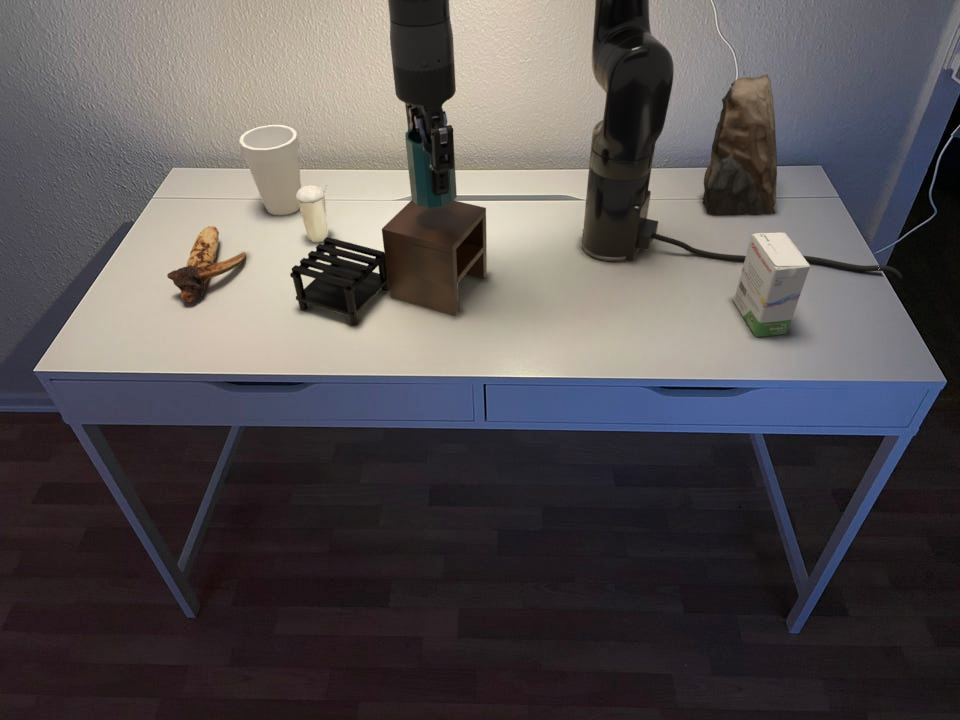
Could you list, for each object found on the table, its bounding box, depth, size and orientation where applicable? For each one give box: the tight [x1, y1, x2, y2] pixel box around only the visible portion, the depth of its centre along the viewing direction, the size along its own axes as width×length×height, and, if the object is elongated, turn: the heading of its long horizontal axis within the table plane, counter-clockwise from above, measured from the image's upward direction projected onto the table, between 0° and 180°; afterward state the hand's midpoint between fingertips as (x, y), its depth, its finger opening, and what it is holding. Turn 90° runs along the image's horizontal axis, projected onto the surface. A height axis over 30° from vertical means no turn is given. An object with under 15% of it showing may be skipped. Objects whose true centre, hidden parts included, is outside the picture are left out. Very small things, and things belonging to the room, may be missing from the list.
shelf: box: [381, 199, 488, 317], centre depth 106 cm, size 11×11×12 cm
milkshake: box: [296, 184, 329, 244], centre depth 117 cm, size 5×5×10 cm
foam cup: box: [238, 124, 302, 216], centre depth 124 cm, size 10×9×13 cm
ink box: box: [732, 231, 811, 338], centre depth 99 cm, size 8×5×12 cm, turn 6°
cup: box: [404, 129, 458, 208], centre depth 96 cm, size 6×6×9 cm
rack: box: [289, 236, 389, 327], centre depth 106 cm, size 10×10×7 cm
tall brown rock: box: [701, 73, 778, 216], centre depth 121 cm, size 13×13×20 cm
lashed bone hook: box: [166, 226, 246, 303], centre depth 112 cm, size 9×5×18 cm
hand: (432, 181), depth 98 cm, fingers closed on cup, 6 cm apart
